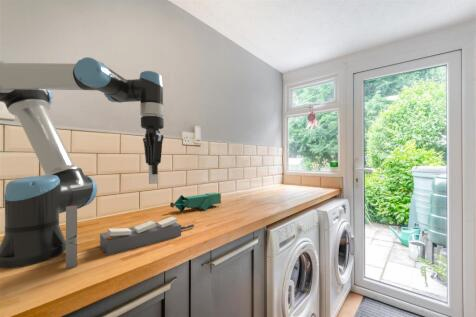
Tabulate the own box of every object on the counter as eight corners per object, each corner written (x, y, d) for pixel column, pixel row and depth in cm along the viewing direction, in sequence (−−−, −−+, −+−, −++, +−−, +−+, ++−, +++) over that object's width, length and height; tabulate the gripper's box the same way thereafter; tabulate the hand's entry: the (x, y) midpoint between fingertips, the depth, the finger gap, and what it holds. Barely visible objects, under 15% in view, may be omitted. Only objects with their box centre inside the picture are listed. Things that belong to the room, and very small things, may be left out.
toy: (166, 194, 119) (212, 189, 138) (167, 212, 118) (212, 204, 138) (175, 197, 109) (223, 191, 128) (175, 216, 109) (223, 207, 128)
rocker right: (162, 228, 76) (161, 224, 75) (157, 225, 78) (157, 222, 78) (177, 221, 80) (177, 218, 79) (172, 219, 82) (172, 216, 82)
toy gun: (75, 201, 68) (77, 205, 57) (76, 253, 67) (77, 268, 55) (66, 202, 67) (65, 206, 55) (66, 255, 66) (65, 271, 54)
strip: (106, 255, 63) (106, 240, 63) (100, 245, 71) (100, 232, 71) (200, 230, 85) (200, 219, 85) (187, 225, 93) (187, 214, 93)
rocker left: (110, 235, 65) (111, 231, 65) (107, 232, 68) (108, 228, 68) (131, 234, 69) (132, 231, 69) (127, 231, 72) (128, 228, 72)
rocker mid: (138, 233, 70) (137, 229, 70) (134, 230, 73) (133, 227, 73) (156, 226, 74) (155, 222, 74) (151, 223, 77) (151, 220, 77)
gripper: (170, 115, 74) (171, 183, 73) (155, 121, 83) (156, 181, 83) (148, 112, 69) (149, 185, 68) (135, 118, 78) (136, 183, 78)
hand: (153, 183), depth 76 cm, fingers closed
